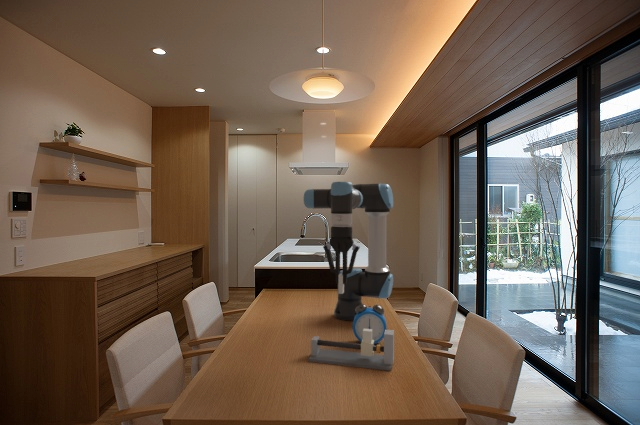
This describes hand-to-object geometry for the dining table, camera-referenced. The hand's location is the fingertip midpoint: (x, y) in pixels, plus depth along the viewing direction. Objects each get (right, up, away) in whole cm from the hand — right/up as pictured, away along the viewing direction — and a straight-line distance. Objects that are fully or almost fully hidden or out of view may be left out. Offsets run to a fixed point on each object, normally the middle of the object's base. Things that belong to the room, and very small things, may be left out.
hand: (341, 292), depth 131 cm
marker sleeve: (+9, -20, -2) cm, 22 cm away
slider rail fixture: (+3, -23, -1) cm, 24 cm away
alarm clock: (+12, -23, +16) cm, 31 cm away
